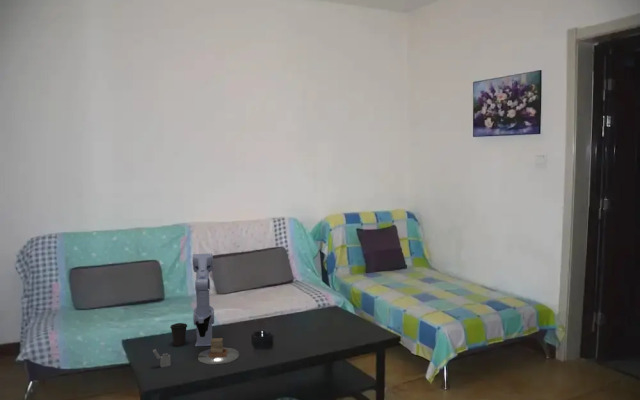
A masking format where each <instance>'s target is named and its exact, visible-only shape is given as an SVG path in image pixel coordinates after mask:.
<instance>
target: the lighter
mask: <svg viewBox="0 0 640 400" xmlns="http://www.w3.org/2000/svg"><path fill="white" fill-rule="evenodd" d="M152 352H153V354H154V355H155V357H156V359H157V360H159V362H160V363H159V364H160V368H167V367H171V364H172V363H171V354H168V353H167V352H166V353H162V355H160V354H159V352H158V351H157V349H156V348H154V349H153V350H152Z"/></svg>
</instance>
